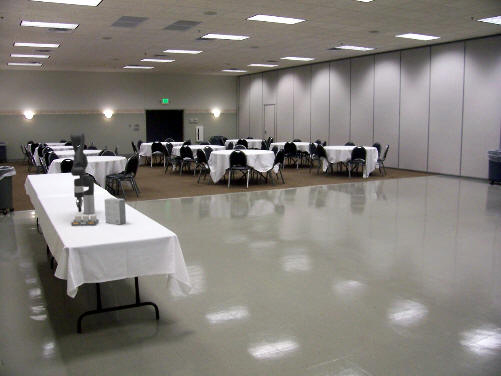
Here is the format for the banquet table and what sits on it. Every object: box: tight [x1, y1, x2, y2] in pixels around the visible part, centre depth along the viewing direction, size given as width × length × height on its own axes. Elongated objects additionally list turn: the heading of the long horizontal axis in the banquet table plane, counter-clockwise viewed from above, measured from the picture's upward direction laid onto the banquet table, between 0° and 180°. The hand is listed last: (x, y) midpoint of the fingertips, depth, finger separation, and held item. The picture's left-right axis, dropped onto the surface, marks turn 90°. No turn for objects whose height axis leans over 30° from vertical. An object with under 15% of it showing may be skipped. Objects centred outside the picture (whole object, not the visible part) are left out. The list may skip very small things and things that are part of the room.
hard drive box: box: [104, 197, 127, 225], centre depth 401 cm, size 16×8×20 cm, turn 65°
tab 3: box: [89, 214, 98, 222], centre depth 401 cm, size 4×4×5 cm
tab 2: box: [82, 214, 90, 222], centre depth 400 cm, size 4×4×5 cm
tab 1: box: [74, 214, 83, 222], centre depth 400 cm, size 4×4×5 cm
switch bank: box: [70, 218, 100, 227], centre depth 398 cm, size 12×19×3 cm, turn 96°
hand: (79, 211), depth 406 cm, fingers closed
